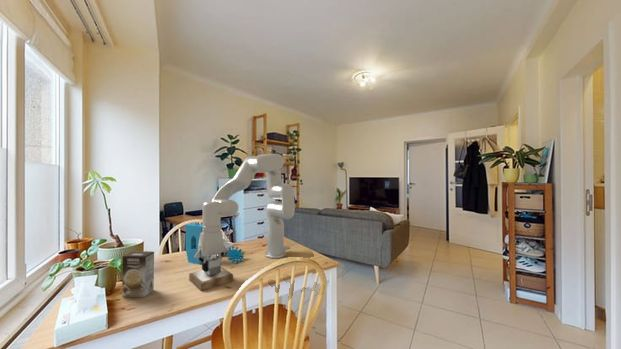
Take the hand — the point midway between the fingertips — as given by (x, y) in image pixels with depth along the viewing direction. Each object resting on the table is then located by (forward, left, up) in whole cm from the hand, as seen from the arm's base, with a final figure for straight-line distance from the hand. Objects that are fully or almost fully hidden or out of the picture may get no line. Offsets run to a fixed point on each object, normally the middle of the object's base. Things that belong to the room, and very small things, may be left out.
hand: (211, 268), depth 114 cm
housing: (0, 0, -1) cm, 1 cm away
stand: (0, 0, -5) cm, 5 cm away
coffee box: (+26, -8, -6) cm, 28 cm away
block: (-4, -28, -6) cm, 29 cm away
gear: (-20, -15, -6) cm, 26 cm away
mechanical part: (-20, -32, -6) cm, 38 cm away
